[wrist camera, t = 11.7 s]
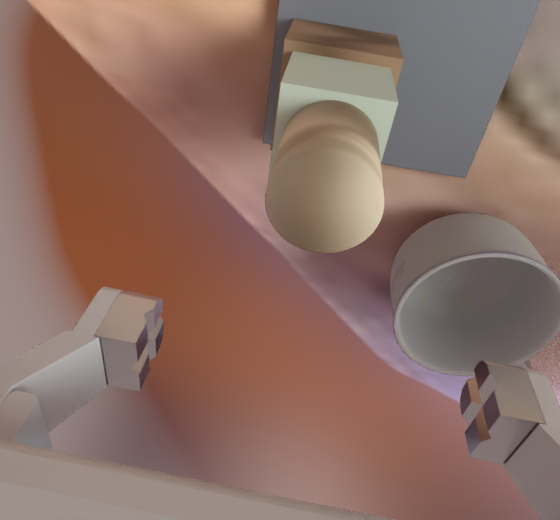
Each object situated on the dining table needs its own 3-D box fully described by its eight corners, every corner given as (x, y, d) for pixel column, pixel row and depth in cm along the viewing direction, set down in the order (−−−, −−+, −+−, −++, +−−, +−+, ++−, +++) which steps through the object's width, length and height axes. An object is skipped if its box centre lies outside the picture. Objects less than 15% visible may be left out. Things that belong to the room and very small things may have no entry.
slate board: (606, -176, 22) (615, -179, 21) (462, 171, 33) (465, 178, 32) (307, -224, 22) (305, -229, 21) (265, 136, 33) (263, 142, 32)
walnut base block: (396, 35, 27) (404, 59, 23) (370, 132, 31) (373, 167, 27) (294, 18, 28) (284, 38, 24) (281, 117, 31) (270, 149, 27)
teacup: (365, 223, 37) (368, 291, 30) (514, 168, 33) (552, 234, 26) (424, 339, 43) (436, 415, 37) (553, 306, 39) (591, 385, 33)
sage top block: (391, 67, 24) (398, 102, 20) (366, 158, 27) (369, 203, 23) (292, 51, 24) (280, 82, 20) (280, 143, 27) (267, 185, 23)
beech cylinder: (390, 109, 20) (399, 162, 16) (365, 198, 23) (368, 261, 19) (287, 92, 20) (272, 140, 16) (275, 182, 23) (259, 242, 19)
